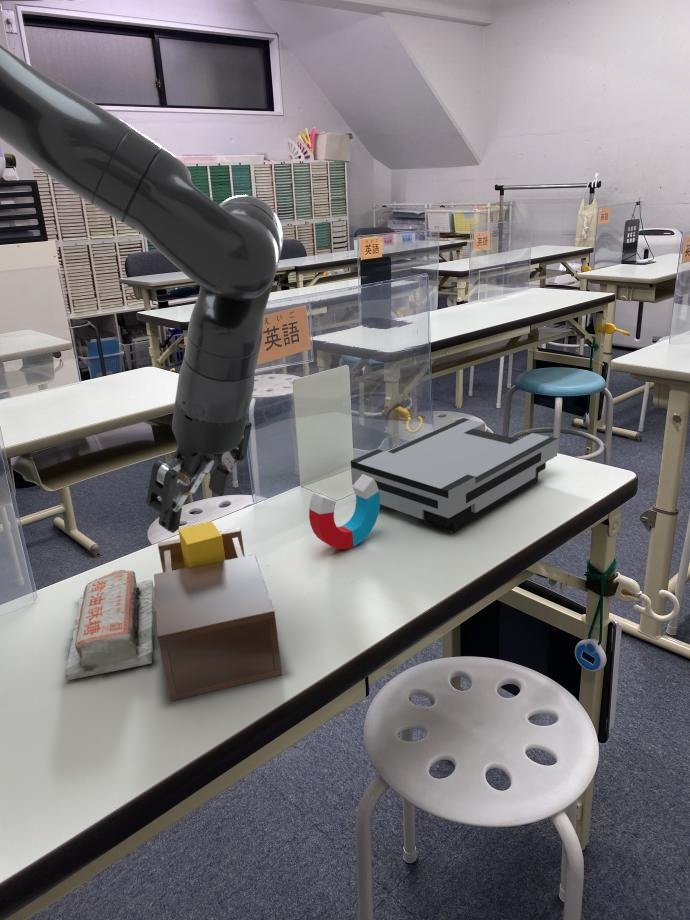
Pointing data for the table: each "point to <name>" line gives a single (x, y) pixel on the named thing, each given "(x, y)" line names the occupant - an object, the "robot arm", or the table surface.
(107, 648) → the packaged product
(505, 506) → the table surface
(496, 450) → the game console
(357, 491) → the magnet
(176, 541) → the drawer
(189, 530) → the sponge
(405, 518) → the table surface
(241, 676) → the cabinet
